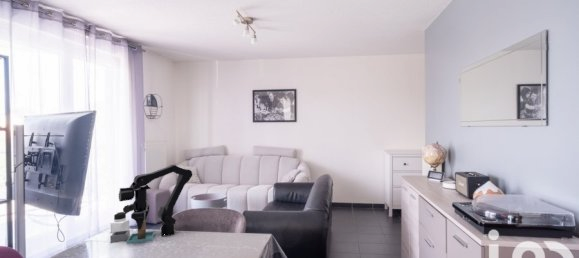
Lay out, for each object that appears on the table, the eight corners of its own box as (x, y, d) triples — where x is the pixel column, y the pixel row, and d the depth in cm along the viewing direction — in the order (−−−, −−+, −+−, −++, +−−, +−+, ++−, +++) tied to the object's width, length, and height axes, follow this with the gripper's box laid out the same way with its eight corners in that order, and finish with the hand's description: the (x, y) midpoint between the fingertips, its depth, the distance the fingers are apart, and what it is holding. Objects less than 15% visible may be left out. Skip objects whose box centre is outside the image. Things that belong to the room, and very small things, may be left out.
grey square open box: (129, 238, 161) (129, 230, 161) (126, 242, 154) (126, 234, 154) (114, 239, 159) (114, 231, 159) (110, 244, 152) (110, 236, 152)
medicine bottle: (129, 231, 174) (129, 211, 174) (121, 235, 167) (121, 214, 167) (118, 230, 174) (118, 211, 175) (110, 235, 167) (110, 214, 167)
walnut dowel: (146, 236, 159) (146, 218, 160) (145, 239, 155) (144, 220, 156) (138, 237, 158) (138, 219, 158) (136, 240, 154) (136, 221, 155)
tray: (155, 235, 164) (155, 231, 164) (151, 242, 153) (151, 238, 153) (132, 238, 161) (131, 233, 161) (126, 246, 149) (126, 241, 149)
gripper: (128, 196, 164) (129, 223, 163) (119, 203, 146) (120, 234, 146) (150, 194, 167) (150, 221, 167) (143, 201, 149) (144, 231, 149)
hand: (141, 226), depth 157 cm, fingers open, 9 cm apart
